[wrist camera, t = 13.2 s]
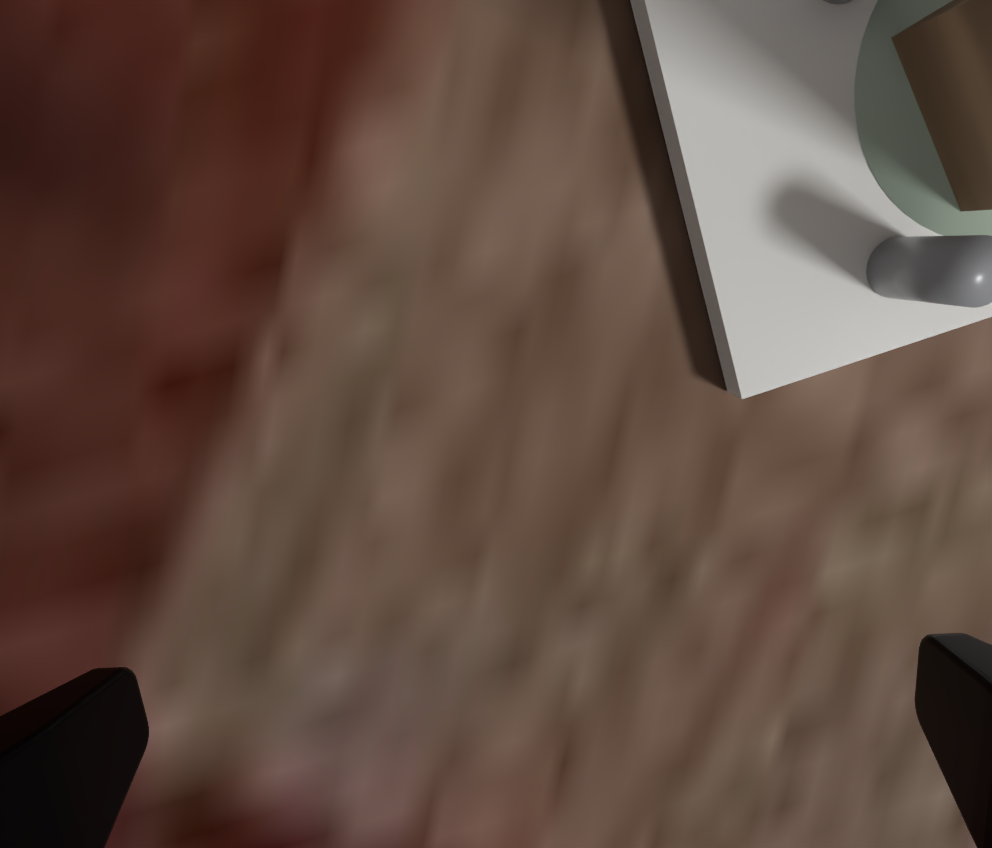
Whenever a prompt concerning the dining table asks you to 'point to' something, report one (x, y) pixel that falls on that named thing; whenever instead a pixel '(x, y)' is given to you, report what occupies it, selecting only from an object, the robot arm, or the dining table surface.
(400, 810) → the dining table surface
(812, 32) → the plate
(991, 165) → the walnut post
